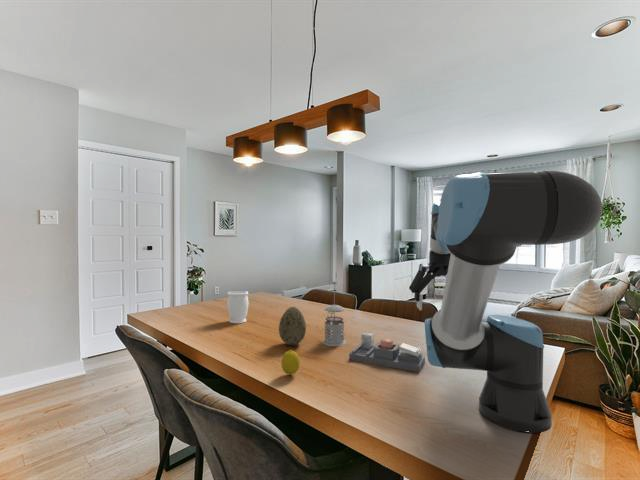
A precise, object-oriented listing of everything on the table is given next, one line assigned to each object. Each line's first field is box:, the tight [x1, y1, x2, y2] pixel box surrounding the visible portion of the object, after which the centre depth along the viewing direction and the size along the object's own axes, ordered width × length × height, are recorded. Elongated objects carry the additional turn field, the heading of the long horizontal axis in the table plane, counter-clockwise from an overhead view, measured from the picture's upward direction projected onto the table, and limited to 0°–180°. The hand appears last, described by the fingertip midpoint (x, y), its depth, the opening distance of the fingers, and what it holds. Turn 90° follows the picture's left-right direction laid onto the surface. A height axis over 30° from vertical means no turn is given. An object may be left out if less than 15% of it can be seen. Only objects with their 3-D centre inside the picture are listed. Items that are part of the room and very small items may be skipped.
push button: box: [379, 338, 394, 350], centre depth 114 cm, size 4×4×3 cm
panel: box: [348, 342, 426, 373], centre depth 114 cm, size 10×24×5 cm, turn 63°
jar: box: [226, 290, 249, 324], centre depth 166 cm, size 11×10×15 cm
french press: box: [322, 280, 347, 347], centre depth 135 cm, size 10×12×25 cm
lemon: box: [281, 349, 300, 377], centre depth 102 cm, size 6×6×8 cm
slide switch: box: [361, 332, 375, 349], centre depth 121 cm, size 3×4×5 cm
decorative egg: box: [278, 306, 307, 346], centre depth 131 cm, size 11×11×15 cm
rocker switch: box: [399, 342, 422, 357], centre depth 111 cm, size 4×6×2 cm
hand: (438, 305), depth 113 cm, fingers open, 13 cm apart
